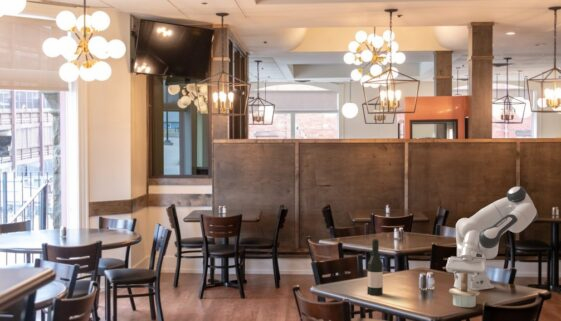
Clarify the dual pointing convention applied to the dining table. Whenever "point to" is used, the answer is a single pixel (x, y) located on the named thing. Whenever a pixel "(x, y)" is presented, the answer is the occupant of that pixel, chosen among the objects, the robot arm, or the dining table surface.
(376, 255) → the wine bottle
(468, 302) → the bowl
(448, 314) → the dining table surface
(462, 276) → the lid
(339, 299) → the dining table surface
